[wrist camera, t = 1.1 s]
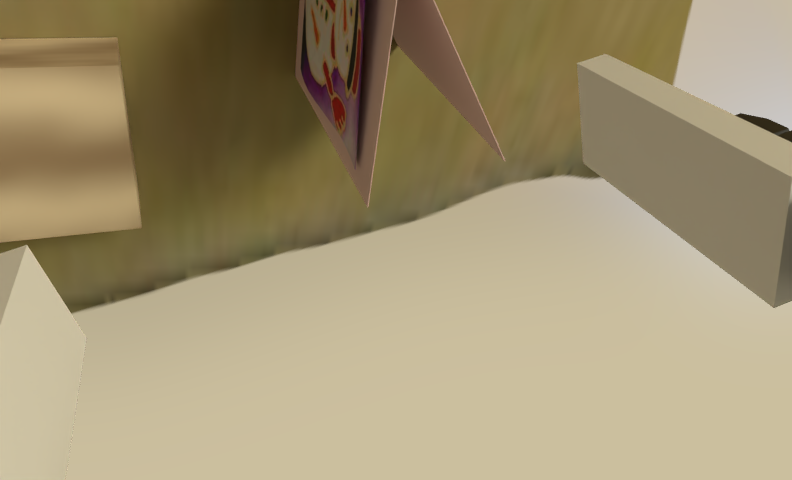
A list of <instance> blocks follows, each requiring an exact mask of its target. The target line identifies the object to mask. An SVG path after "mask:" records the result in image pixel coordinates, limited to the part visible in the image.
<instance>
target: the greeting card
mask: <svg viewBox="0 0 792 480" xmlns="http://www.w3.org/2000/svg"><path fill="white" fill-rule="evenodd" d="M392 35H393V37H394V39H395V41H396V43H397V45H398V46H399V47H400V48H401V50H402V51H403V52H404V53H405V54H406V55H407V56H408V57H409V58H410V59H411V60H412V61H413V63H414V64H415V65H416V66H417V67H418V68H419V69H420V70H421V71H422V72H423V73H424V74H425V76H426V77H427V78H428V79H429V80H430V81H431V82H432V83H433V84H434V85H435V86H436V87H437V89H438V90H439V91H440V92H441V93H442V94H443V95H444V96H445V97H446V98H447V99H448V100H449V102H450V103H451V104H452V105H453V106H454V107H455V108H456V109H457V110H458V111H459V112H460V113H461V115H462V116H463V117H464V118H465V119H466V120H467V121H468V122H469V123H470V124H471V125H472V126H473V128H474V129H475V130H476V131H477V132H478V133H479V134H480V135H481V136H482V137H483V138H484V139H485V140H486V142H487V143H488V144H489V145H490V146H491V147H492V148H493V149H494V150H495V151H496V152H497V153H498V155H499V156H500V157H501V158H502V159H503V160H504V161H505V159H504V156H503V154H502V152H501V150H500V147H499V145H498V143H497V141H496V138H495V136H494V134H493V132H492V129H491V127H490V125H489V123H488V120H487V118H486V116H485V114H484V111H483V109H482V107H481V105H480V102H479V100H478V98H477V96H476V93H475V91H474V89H473V86H472V84H471V82H470V80H469V77H468V75H467V73H466V71H465V68H464V66H463V64H462V62H461V59H460V57H459V55H458V53H457V50H456V48H455V46H454V44H453V41H452V39H451V37H450V35H449V32H448V30H447V28H446V26H445V23H444V21H443V19H442V17H441V14H440V12H439V10H438V7H437V5H436V3H435V1H434V0H300V1H299V18H298V35H297V52H296V70H295V77H296V79H297V80H298V82H299V84H300V86H301V88H302V90H303V91H304V93H305V95H306V97H307V99H308V100H309V102H310V104H311V106H312V108H313V109H314V111H315V113H316V115H317V117H318V118H319V120H320V122H321V124H322V126H323V128H324V129H325V131H326V133H327V135H328V137H329V138H330V140H331V142H332V144H333V146H334V147H335V149H336V151H337V153H338V155H339V156H340V158H341V160H342V162H343V164H344V166H345V167H346V169H347V171H348V173H349V175H350V176H351V178H352V180H353V182H354V184H355V185H356V187H357V189H358V191H359V193H360V195H361V196H362V198H363V200H364V202H365V204H366V205H367V207H368V206H369V199H370V191H371V184H372V177H373V170H374V163H375V156H376V149H377V142H378V134H379V127H380V120H381V113H382V106H383V99H384V92H385V85H386V77H387V70H388V63H389V56H390V49H391V42H392Z"/></svg>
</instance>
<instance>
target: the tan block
mask: <svg viewBox="0 0 792 480" xmlns="http://www.w3.org/2000/svg"><path fill="white" fill-rule="evenodd" d="M137 228H142V223H141V212H140V200H139V190H138V183H137V176H136V169H135V162H134V154H133V147H132V140H131V133H130V126H129V119H128V111H127V104H126V97H125V90H124V83H123V76H122V68H121V61H120V54H119V47H118V40H117V37H107V38H33V39H0V243H1V242H10V241H20V240H30V239H40V238H49V237H59V236H69V235H79V234H88V233H98V232H108V231H118V230H127V229H137Z"/></svg>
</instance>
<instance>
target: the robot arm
mask: <svg viewBox="0 0 792 480" xmlns="http://www.w3.org/2000/svg"><path fill="white" fill-rule="evenodd" d="M577 66H578V83H579V99H580V116H581V133H582V150H583V163H584V164H585V165H586V166H588V167H589V168H590V169H592V170H593V171H594V172H596V173H597V174H598V175H600V176H601V177H602V178H604V179H605V180H606V181H607V182H609V183H610V184H611V185H613V186H614V187H616V188H617V189H618V190H619V191H621V192H622V193H623V194H625V195H626V196H627V197H629V198H630V199H631V200H632V201H634V202H635V203H636V204H638V205H639V206H640V207H642V208H643V209H644V210H646V211H647V212H648V213H650V214H651V215H653V216H654V217H655V218H656V219H658V220H659V221H660V222H661V223H663V224H664V225H666V226H667V227H668V228H669V229H671V230H672V231H673V232H675V233H676V234H677V235H679V236H680V237H681V238H683V239H684V240H685V241H686V242H688V243H689V244H690V245H692V246H693V247H694V248H696V249H697V250H698V251H700V252H701V253H702V254H703V255H705V256H706V257H707V258H709V259H710V260H711V261H713V262H714V263H715V264H717V265H718V266H719V267H721V268H722V269H723V270H725V271H726V272H727V273H728V274H730V275H731V276H732V277H734V278H735V279H737V280H738V281H739V282H740V283H742V284H743V285H744V286H746V287H747V288H748V289H750V290H751V291H752V292H754V293H755V294H756V295H758V296H759V297H760V298H762V299H763V300H764V301H765V302H767V303H768V304H769V305H771V306H772V307H773V308H775V307H778V306H780V305H783V304H785V303H788V302H790V301H792V131H789V129H788V128H787V127H784V126H782V125H780V124H778V123H775V122H773V121H771V120H769V119H766V118H761V117H756V116H751V115H746V114H738V115H733V114H731V113H729V112H727V111H725V110H723V109H720V108H718V107H716V106H714V105H712V104H710V103H708V102H706V101H703V100H701V99H699V98H697V97H695V96H693V95H691V94H689V93H687V92H685V91H683V90H681V89H678V88H676V87H674V86H672V85H670V84H668V83H666V82H664V81H662V80H660V79H657V78H655V77H653V76H651V75H649V74H647V73H645V72H643V71H641V70H639V69H637V68H634V67H632V66H630V65H628V64H626V63H624V62H622V61H620V60H618V59H616V58H613V57H611V56H609V55H607V54H604V55H601V56H598V57H595V58H592V59H589V60H586V61H583V62H580V63H577ZM86 340H87V338H86V336H85V335H84V333H83V332H82V330H81V328H80V327H79V325H78V324H77V322H76V320H75V319H74V317H73V316H72V314H71V313H70V311H69V310H68V308H67V306H66V305H65V303H64V302H63V300H62V299H61V297H60V296H59V294H58V292H57V291H56V289H55V288H54V286H53V285H52V283H51V282H50V280H49V278H48V277H47V275H46V274H45V272H44V271H43V269H42V267H41V266H40V264H39V263H38V261H37V260H36V258H35V257H34V255H33V253H32V252H31V250H30V249H29V247H28V246H27V245H25V246H22V247H19V248H16V249H13V250H10V251H7V252H4V253H1V254H0V480H66V474H67V467H68V460H69V453H70V447H71V440H72V433H73V427H74V426H73V425H74V420H75V413H76V406H77V400H78V393H79V387H80V380H81V373H82V366H83V360H84V353H85V346H86Z"/></svg>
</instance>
